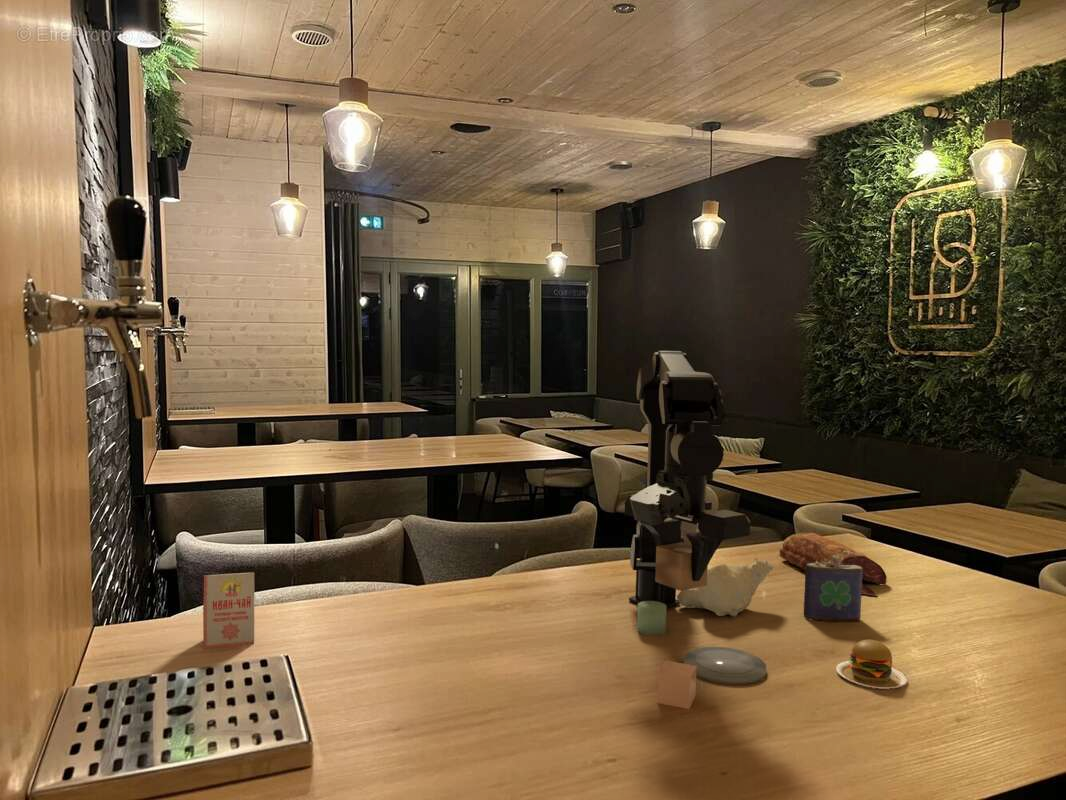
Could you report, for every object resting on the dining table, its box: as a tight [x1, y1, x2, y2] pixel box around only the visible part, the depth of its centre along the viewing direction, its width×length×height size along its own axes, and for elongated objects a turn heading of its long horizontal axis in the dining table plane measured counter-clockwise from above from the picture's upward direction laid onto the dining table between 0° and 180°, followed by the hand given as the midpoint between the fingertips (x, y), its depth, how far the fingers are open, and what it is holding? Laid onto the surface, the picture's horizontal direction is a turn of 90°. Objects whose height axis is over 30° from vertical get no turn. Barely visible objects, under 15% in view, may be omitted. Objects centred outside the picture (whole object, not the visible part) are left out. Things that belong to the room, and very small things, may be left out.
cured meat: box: [778, 532, 888, 597], centre depth 155 cm, size 18×25×7 cm
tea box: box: [202, 571, 255, 650], centre depth 115 cm, size 4×7×10 cm, turn 108°
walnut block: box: [655, 542, 709, 592], centre depth 110 cm, size 5×5×5 cm
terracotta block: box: [656, 660, 697, 710], centre depth 99 cm, size 4×4×4 cm
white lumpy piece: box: [676, 558, 774, 617], centre depth 133 cm, size 15×7×15 cm
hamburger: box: [835, 639, 908, 690], centre depth 108 cm, size 12×12×6 cm
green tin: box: [636, 601, 667, 636], centre depth 123 cm, size 4×4×4 cm
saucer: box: [683, 646, 767, 685], centre depth 110 cm, size 11×11×1 cm
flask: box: [803, 555, 863, 622], centre depth 130 cm, size 9×3×11 cm, turn 88°
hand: (681, 576), depth 110 cm, fingers closed on walnut block, 5 cm apart
